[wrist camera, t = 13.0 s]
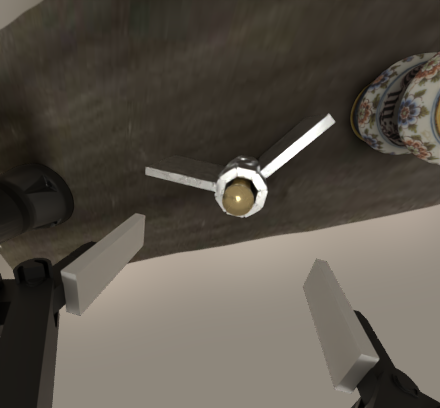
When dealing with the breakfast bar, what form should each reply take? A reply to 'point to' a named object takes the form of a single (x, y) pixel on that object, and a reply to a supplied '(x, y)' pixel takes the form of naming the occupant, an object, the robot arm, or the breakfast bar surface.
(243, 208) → the brass pin
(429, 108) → the apothecary jar
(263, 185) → the hinge fixed leaf
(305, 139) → the hinge swing leaf
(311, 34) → the breakfast bar surface
